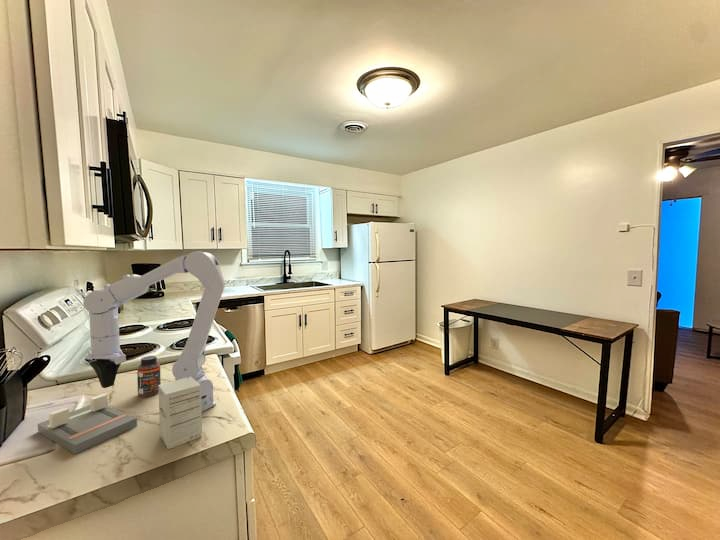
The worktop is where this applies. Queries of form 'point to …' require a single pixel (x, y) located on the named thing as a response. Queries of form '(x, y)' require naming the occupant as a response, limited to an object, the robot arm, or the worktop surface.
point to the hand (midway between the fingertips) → (107, 386)
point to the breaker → (59, 417)
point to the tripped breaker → (98, 402)
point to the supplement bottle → (148, 376)
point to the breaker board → (88, 428)
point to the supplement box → (180, 411)
